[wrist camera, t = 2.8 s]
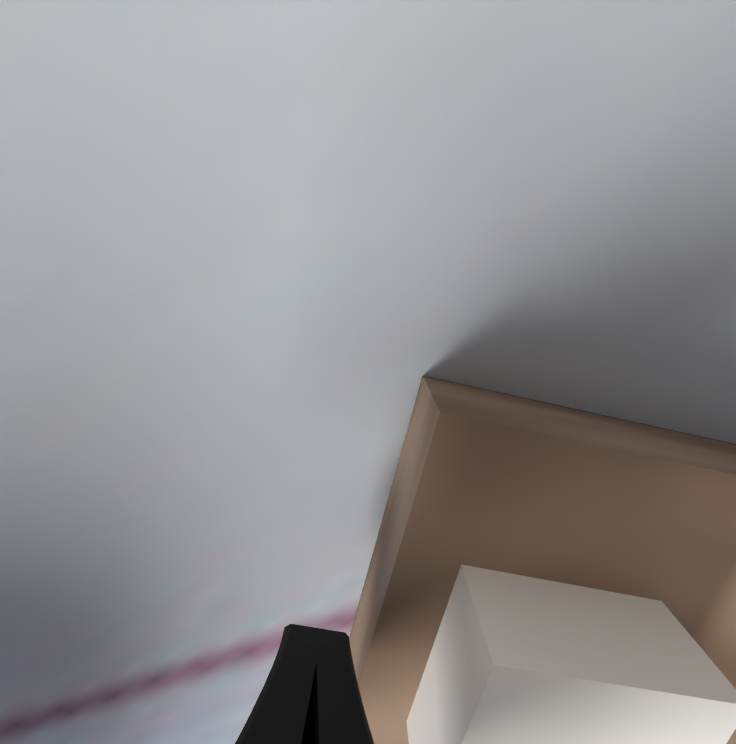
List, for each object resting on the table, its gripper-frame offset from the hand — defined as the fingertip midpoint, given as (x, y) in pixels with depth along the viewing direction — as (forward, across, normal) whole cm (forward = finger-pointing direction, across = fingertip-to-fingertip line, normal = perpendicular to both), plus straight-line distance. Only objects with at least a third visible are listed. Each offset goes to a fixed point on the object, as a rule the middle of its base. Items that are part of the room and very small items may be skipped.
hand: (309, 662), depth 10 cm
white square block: (+1, -5, 0) cm, 5 cm away
